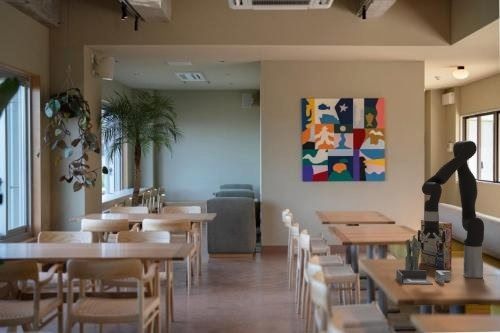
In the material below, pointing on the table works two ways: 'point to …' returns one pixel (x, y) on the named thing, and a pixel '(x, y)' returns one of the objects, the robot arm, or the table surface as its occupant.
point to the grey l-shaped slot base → (413, 277)
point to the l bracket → (442, 276)
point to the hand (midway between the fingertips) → (431, 249)
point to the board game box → (431, 248)
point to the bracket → (412, 261)
